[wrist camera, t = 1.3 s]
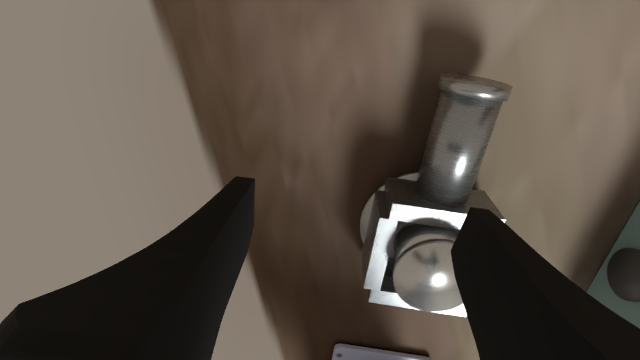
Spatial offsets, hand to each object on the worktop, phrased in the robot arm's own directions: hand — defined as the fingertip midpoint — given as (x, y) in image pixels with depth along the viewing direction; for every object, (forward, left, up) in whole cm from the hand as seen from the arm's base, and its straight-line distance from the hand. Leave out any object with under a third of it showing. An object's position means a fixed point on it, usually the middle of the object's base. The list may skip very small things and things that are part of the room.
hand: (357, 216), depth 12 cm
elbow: (-3, -5, -10) cm, 12 cm away
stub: (-6, -5, -11) cm, 13 cm away
